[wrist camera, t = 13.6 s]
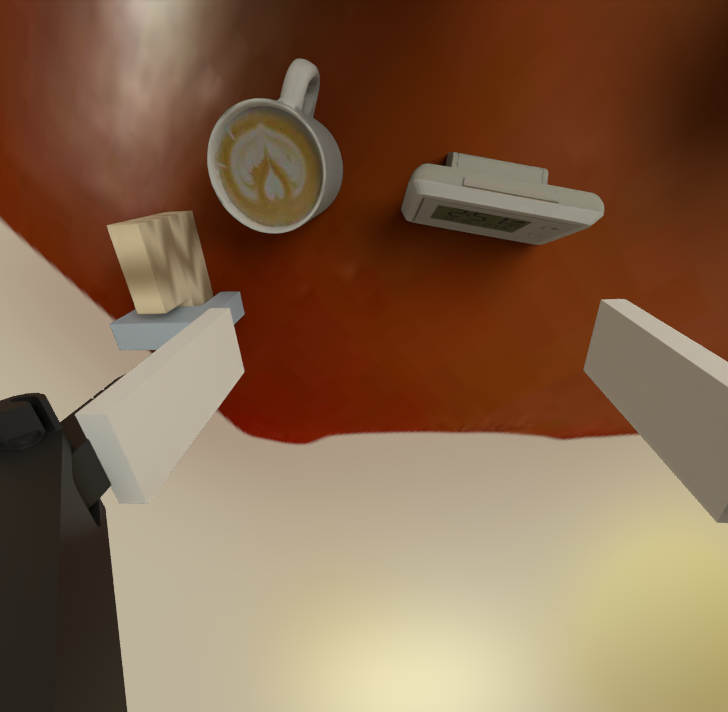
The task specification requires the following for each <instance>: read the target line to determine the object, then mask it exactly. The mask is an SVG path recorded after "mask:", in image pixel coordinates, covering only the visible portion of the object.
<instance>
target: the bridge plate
mask: <svg viewBox="0 0 728 712" xmlns="http://www.w3.org/2000/svg"><path fill="white" fill-rule="evenodd" d="M210 308H230V311H231V316H232V320H233V324H235V323H236V322H237V321H238V320H239V319H240V318H241V317H242V316H243V315H244V309H243V304H242V300H241V295H240V291H238V292H220V293H218V294H217V295H216V296H214V297H213V298H212V299H210V300H209V301H207V302H206V303H205V304H203V305H202V306H176V307H175V308H173V309H172V310H170V311H169V312H167V313H159V314H138V313H137V311H136V309H135V310H133V311H132V312H130V313H128V314H126V315H125V316H123V317H121V318H119V319H117V320H116V321H114V322H112V323H110V327H111V329H112V332H113V334H114V337H115V339H116V342H117V345H118V347H119V349H120V350H157V349H159V348H160V347H161V346H163V345H164V344H165V343H166V342H168V341H169V340H170V339H172V338H173V337H174V336H175V335H177V334H178V333H179V332H180V331H182V330H183V329H184V328H186V327H187V326H188V325H189V324H191V323H192V322H193V321H194V320H196V319H197V318H198V317H200V316H201V315H202V314H203V313H205V312H206V311H207V310H209V309H210Z"/></svg>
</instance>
